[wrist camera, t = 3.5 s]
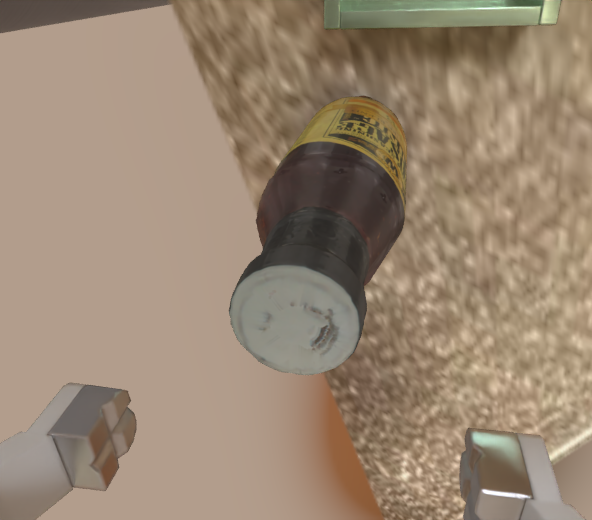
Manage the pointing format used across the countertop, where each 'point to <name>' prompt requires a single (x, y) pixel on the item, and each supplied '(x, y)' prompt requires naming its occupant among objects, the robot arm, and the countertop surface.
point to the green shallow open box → (438, 13)
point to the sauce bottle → (323, 238)
